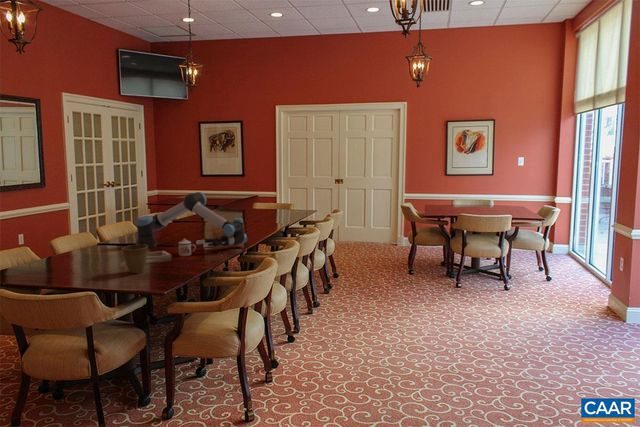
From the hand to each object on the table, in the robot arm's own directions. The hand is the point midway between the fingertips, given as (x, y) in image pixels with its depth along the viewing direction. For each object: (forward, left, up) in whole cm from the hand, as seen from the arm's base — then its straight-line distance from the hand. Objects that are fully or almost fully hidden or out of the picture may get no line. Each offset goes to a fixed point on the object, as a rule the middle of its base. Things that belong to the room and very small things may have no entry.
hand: (199, 243), depth 358 cm
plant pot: (+28, -53, -7) cm, 60 cm away
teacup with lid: (0, -10, -7) cm, 12 cm away
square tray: (+2, -35, -7) cm, 35 cm away
